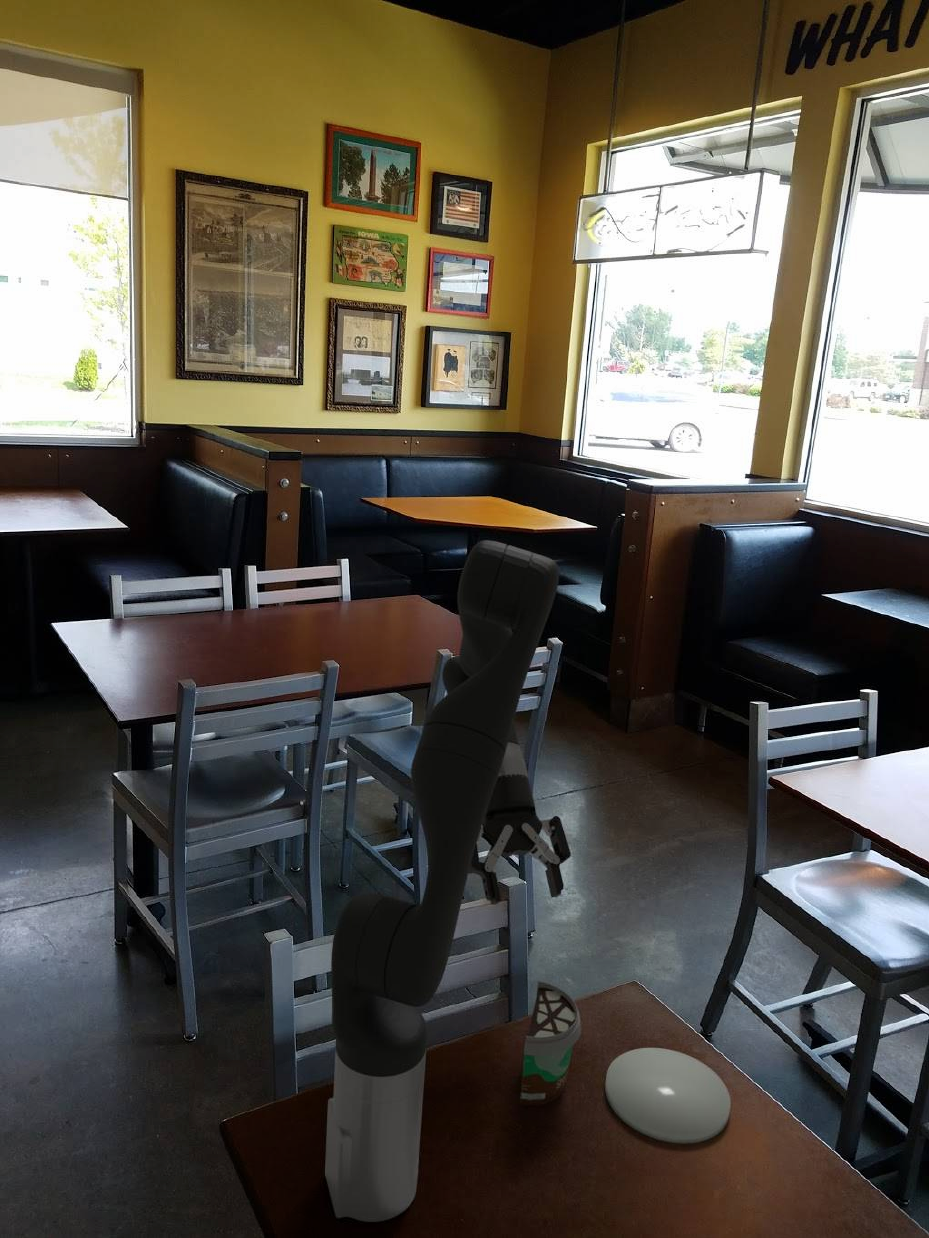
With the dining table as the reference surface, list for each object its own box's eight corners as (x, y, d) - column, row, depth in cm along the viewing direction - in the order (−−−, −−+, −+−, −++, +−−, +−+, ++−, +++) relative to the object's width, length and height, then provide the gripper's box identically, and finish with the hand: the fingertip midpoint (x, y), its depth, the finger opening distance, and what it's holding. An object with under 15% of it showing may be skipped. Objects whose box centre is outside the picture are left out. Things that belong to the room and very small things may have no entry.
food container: (569, 1122, 114) (578, 1049, 112) (518, 1112, 115) (525, 1038, 113) (579, 1054, 126) (586, 986, 124) (532, 1045, 127) (538, 978, 125)
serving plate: (642, 1154, 110) (644, 1145, 110) (584, 1066, 124) (585, 1058, 123) (754, 1129, 115) (755, 1120, 115) (686, 1047, 129) (687, 1039, 128)
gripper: (460, 776, 129) (484, 898, 121) (558, 768, 134) (587, 885, 126) (445, 796, 135) (467, 913, 128) (539, 788, 140) (566, 900, 132)
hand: (526, 899), depth 127 cm, fingers open, 8 cm apart
